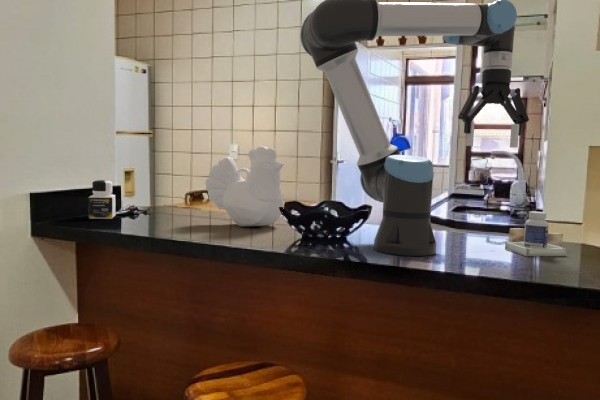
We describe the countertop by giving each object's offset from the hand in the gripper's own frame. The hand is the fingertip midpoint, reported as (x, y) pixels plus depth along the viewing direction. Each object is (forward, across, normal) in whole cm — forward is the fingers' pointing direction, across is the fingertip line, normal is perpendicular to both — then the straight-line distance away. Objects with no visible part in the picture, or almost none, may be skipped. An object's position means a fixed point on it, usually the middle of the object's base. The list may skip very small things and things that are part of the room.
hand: (491, 146), depth 148 cm
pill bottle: (+26, +4, -17) cm, 31 cm away
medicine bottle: (+27, -111, +43) cm, 122 cm away
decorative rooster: (+27, -66, +28) cm, 77 cm away
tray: (+27, +4, -17) cm, 32 cm away
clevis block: (+27, +11, -7) cm, 30 cm away
